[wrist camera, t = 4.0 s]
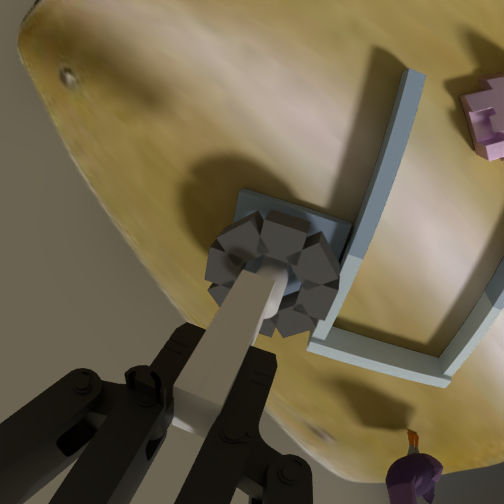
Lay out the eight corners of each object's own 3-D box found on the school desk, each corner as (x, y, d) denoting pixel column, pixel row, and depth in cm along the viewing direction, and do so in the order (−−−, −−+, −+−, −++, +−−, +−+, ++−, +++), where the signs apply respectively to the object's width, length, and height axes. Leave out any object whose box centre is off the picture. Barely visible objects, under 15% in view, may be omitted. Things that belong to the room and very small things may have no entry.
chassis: (277, 36, 19) (248, 11, 13) (555, 157, 16) (606, 182, 9) (220, 298, 31) (188, 348, 25) (441, 367, 28) (450, 423, 21)
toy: (391, 494, 31) (433, 502, 27) (359, 520, 24) (411, 534, 19) (412, 426, 35) (456, 431, 30) (387, 439, 27) (444, 448, 22)
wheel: (227, 195, 23) (216, 204, 21) (355, 237, 21) (356, 249, 20) (208, 297, 27) (199, 311, 26) (313, 334, 26) (310, 350, 24)
